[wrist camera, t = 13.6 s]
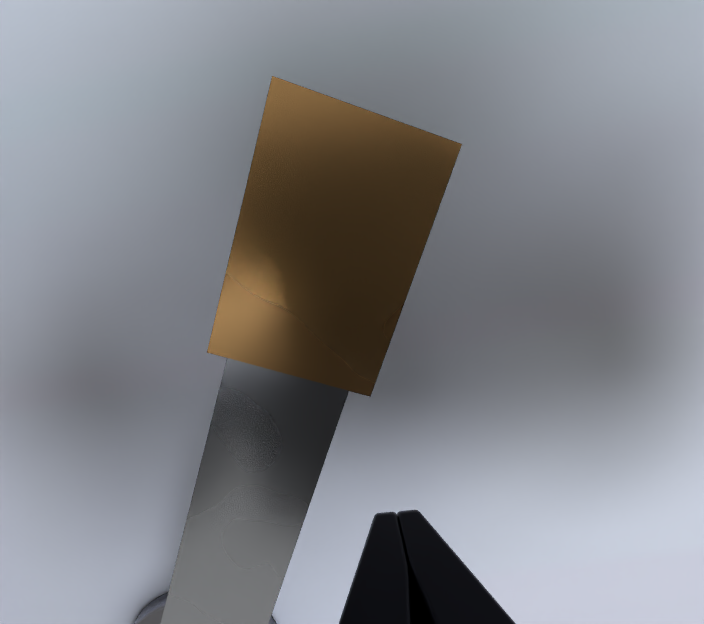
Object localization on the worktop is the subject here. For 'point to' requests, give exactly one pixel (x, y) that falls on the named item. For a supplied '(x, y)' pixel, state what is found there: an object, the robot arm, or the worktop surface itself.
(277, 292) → the bar
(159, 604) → the grey flanged disc
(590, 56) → the worktop surface
